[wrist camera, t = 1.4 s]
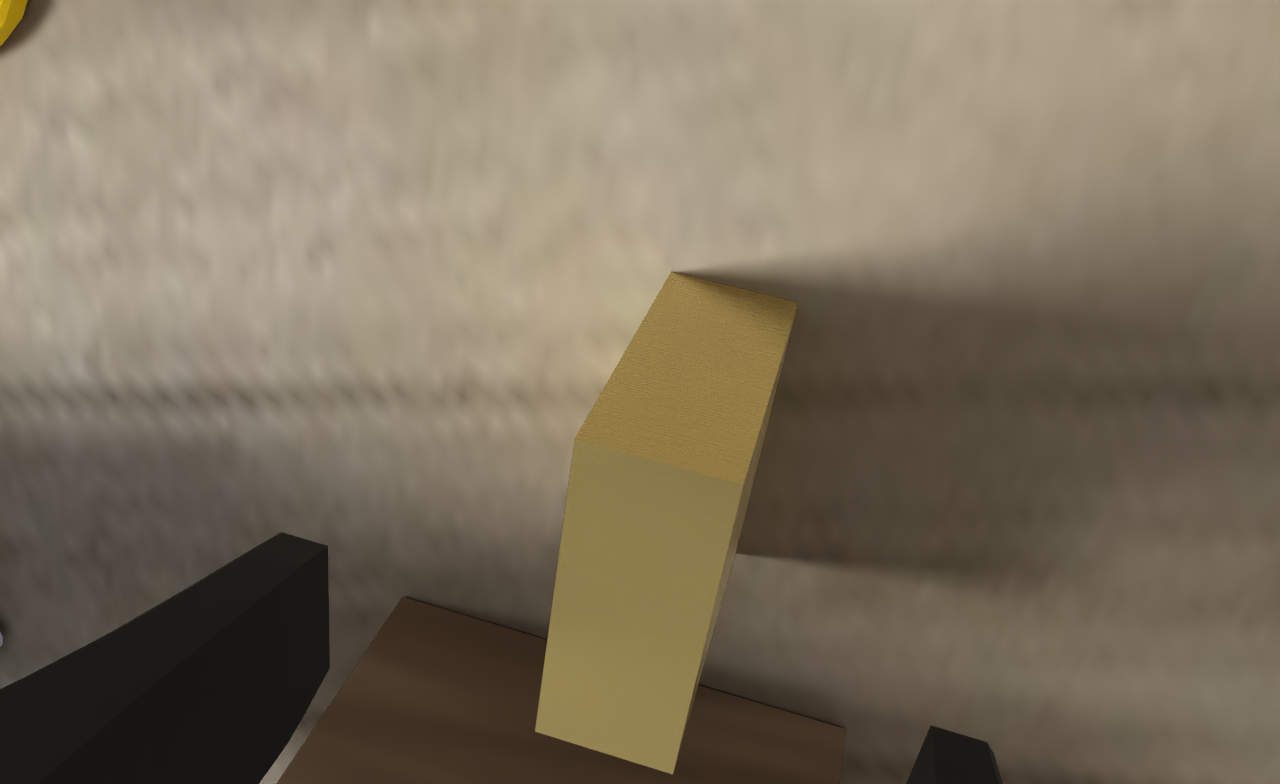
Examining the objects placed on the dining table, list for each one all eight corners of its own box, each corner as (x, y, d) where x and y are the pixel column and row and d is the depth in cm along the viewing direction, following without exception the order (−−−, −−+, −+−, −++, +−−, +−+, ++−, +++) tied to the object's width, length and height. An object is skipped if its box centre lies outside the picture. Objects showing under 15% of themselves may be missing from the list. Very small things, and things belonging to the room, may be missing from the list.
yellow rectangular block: (671, 270, 17) (573, 438, 12) (798, 301, 16) (744, 484, 12) (627, 522, 19) (534, 731, 15) (735, 552, 19) (672, 774, 15)
